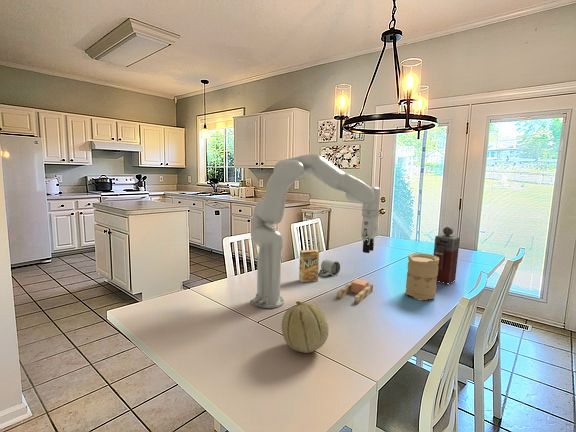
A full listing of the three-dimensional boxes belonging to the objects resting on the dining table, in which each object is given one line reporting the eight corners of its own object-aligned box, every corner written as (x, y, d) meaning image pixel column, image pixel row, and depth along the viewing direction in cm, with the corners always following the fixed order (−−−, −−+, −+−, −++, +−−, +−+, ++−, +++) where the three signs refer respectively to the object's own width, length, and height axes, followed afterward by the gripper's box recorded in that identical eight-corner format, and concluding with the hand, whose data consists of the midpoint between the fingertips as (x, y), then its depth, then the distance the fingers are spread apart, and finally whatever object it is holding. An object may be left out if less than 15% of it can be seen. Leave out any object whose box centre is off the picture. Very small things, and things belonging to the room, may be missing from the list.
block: (363, 294, 147) (363, 285, 146) (350, 291, 150) (351, 282, 149) (368, 290, 152) (368, 281, 151) (355, 287, 155) (356, 278, 154)
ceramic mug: (328, 270, 180) (329, 256, 178) (340, 274, 174) (340, 260, 172) (315, 274, 173) (315, 260, 172) (327, 278, 167) (327, 264, 165)
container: (428, 303, 139) (432, 262, 136) (400, 295, 147) (403, 256, 144) (439, 295, 148) (443, 257, 145) (412, 288, 156) (415, 251, 153)
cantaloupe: (323, 366, 93) (325, 317, 91) (274, 357, 97) (275, 310, 95) (331, 340, 108) (333, 297, 105) (288, 333, 111) (289, 291, 109)
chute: (358, 304, 136) (358, 297, 136) (336, 298, 142) (336, 291, 141) (372, 291, 151) (373, 284, 151) (352, 286, 157) (353, 280, 156)
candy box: (301, 282, 160) (302, 252, 158) (298, 279, 164) (299, 250, 162) (318, 281, 163) (319, 251, 160) (315, 278, 167) (316, 249, 164)
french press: (429, 281, 166) (434, 227, 162) (437, 276, 174) (442, 224, 170) (447, 286, 160) (453, 229, 156) (455, 280, 168) (461, 227, 163)
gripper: (371, 216, 143) (369, 256, 146) (384, 212, 157) (381, 249, 159) (355, 214, 147) (353, 253, 150) (368, 210, 161) (366, 246, 164)
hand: (367, 251), depth 155 cm, fingers open, 4 cm apart
